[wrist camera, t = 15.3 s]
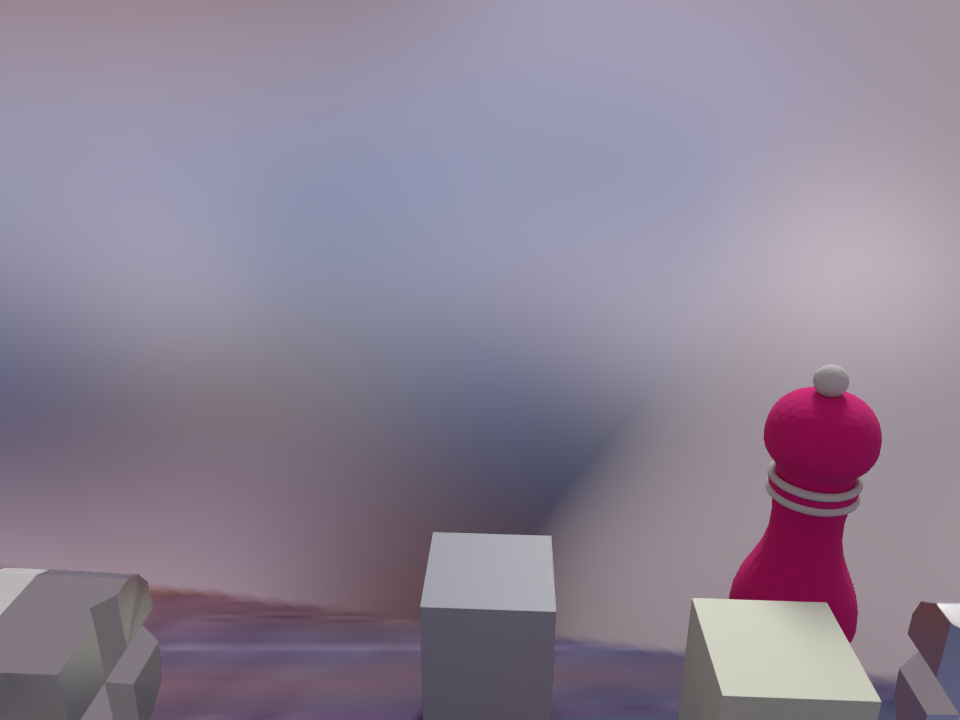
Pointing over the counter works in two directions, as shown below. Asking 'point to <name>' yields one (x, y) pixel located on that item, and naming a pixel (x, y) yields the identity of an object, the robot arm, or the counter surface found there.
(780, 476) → the pepper mill
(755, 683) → the cover
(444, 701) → the cover
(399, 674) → the counter surface
